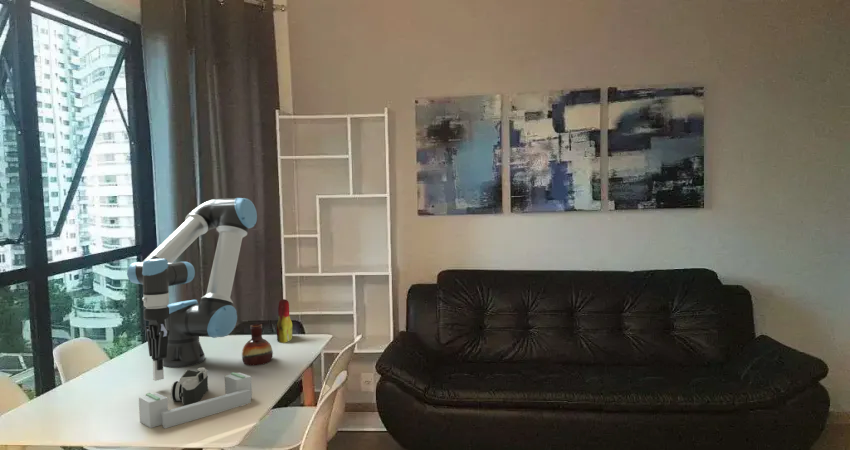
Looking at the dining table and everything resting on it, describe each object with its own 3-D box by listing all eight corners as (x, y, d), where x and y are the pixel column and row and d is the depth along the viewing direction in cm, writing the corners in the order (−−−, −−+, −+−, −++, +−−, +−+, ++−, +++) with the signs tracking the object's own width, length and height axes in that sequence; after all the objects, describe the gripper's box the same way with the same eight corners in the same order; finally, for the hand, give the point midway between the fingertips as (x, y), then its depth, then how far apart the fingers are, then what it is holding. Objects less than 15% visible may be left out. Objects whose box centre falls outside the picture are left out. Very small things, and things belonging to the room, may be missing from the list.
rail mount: (139, 422, 169) (138, 395, 169) (240, 394, 192) (239, 370, 191) (155, 431, 162) (154, 403, 162) (258, 401, 185) (257, 376, 184)
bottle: (289, 349, 248) (287, 301, 247) (273, 350, 248) (272, 301, 247) (295, 342, 260) (293, 296, 259) (280, 343, 260) (278, 297, 259)
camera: (184, 392, 195) (183, 362, 195) (212, 391, 196) (210, 360, 195) (166, 409, 179) (165, 376, 179) (196, 408, 180) (195, 375, 179)
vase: (245, 372, 217) (243, 329, 216) (239, 364, 227) (238, 324, 226) (276, 367, 222) (274, 325, 221) (269, 360, 232) (267, 320, 231)
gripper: (136, 306, 197) (138, 378, 197) (153, 310, 188) (155, 385, 188) (159, 303, 202) (161, 373, 203) (176, 307, 193) (179, 380, 194)
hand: (158, 379), depth 196 cm, fingers closed
